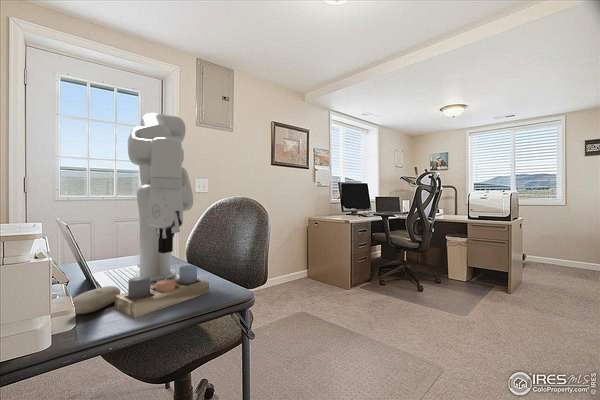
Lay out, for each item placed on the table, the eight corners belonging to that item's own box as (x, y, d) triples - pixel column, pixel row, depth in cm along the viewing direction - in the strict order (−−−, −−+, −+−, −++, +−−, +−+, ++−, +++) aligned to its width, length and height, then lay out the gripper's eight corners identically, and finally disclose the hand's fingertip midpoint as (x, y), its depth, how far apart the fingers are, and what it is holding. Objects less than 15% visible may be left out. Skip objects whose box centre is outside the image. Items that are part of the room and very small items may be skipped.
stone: (129, 290, 77) (93, 292, 65) (117, 313, 75) (78, 319, 64) (112, 281, 78) (74, 282, 66) (100, 304, 77) (59, 308, 65)
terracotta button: (152, 297, 77) (152, 282, 77) (168, 292, 81) (168, 278, 81) (162, 301, 74) (162, 286, 74) (178, 296, 78) (179, 281, 78)
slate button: (175, 281, 83) (175, 267, 83) (190, 277, 87) (190, 264, 87) (186, 284, 80) (186, 270, 80) (200, 280, 84) (200, 266, 84)
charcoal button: (124, 295, 71) (124, 279, 71) (143, 290, 75) (144, 275, 75) (134, 299, 68) (134, 283, 68) (154, 294, 72) (154, 278, 72)
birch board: (114, 307, 72) (114, 295, 71) (188, 285, 89) (188, 276, 89) (135, 317, 66) (135, 305, 66) (209, 292, 84) (209, 282, 84)
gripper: (137, 183, 78) (137, 250, 79) (169, 185, 70) (168, 259, 71) (163, 184, 84) (162, 245, 85) (195, 186, 76) (194, 254, 77)
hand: (165, 251), depth 78 cm, fingers closed
